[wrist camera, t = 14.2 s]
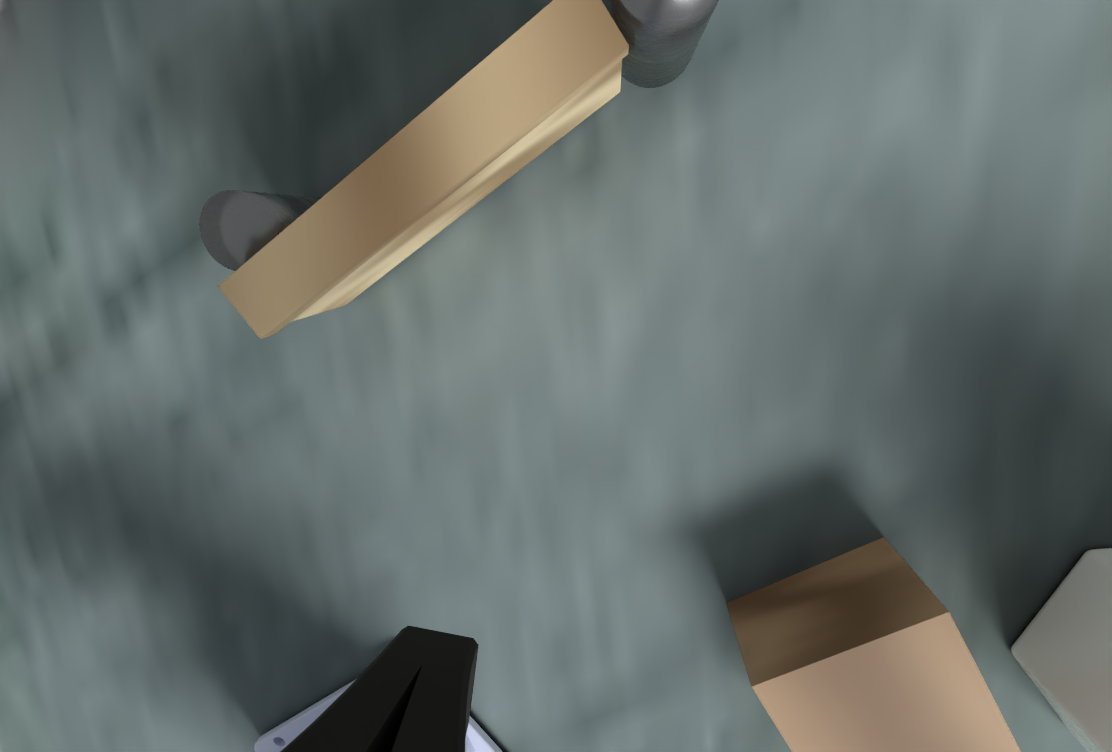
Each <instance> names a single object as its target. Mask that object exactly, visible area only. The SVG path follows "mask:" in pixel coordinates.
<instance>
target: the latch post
mask: <svg viewBox="0 0 1112 752" xmlns="http://www.w3.org/2000/svg"><path fill="white" fill-rule="evenodd" d="M320 199H321V198H313V197H302V196H291V195H280V194H268V193H257V192H246V191H235V190H227V191H222V192H219V193H217V194H215V195H214V196H212V197H211V198H210V199H209V200H208V201H207V202H206V204H205V206H204V207H203V210H202V212H201V216H200V232H201V237H202V240H203V242H204V245H205V247H206V248H207V250H208V252H209V253H210V254H211V256H212V257H213V258H214V259H215V260H216V261H217V262H219V263H220V264H221V265H223V266H224V267H226V268H228V269H231V270H234V271H236V270H238V269H239V268H240V267H241V266H242V265H243V264H245V263H246V262H247V261H248V260H249V259H250V258H252V257H253V256H254V255H255V254H256V253H257V252H259V251H260V250H261V249H262V248H263V247H264V246H266V245H267V244H268V243H269V242H270V241H272V240H273V239H274V238H275V237H276V236H277V235H279V234H280V233H281V232H282V231H283V230H284V229H286V228H287V227H288V226H289V225H290V224H291V223H293V222H294V221H295V220H296V219H297V218H298V217H300V216H301V215H302V214H303V213H304V212H306V211H307V210H308V209H309V208H310V207H311V206H313V205H314V204H315V203H316V202H317V201H318V200H320Z"/></svg>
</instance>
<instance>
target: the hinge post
mask: <svg viewBox="0 0 1112 752" xmlns="http://www.w3.org/2000/svg"><path fill="white" fill-rule="evenodd" d="M717 2H718V0H610V15H611V17H612V19H613V20H614V22H615V23H616V25H617V27H618V28H619V30H620V32H621V33H622V35H623V37H624V38H625V40H626V42H627V43H628V45H629V50H628V55H627V56H625V57H624V58H623V59H622V70H621V75H622V76H623V77H624V78H625V79H626V80H628V81H629V82H631V83H633V84H634V85H637V86H640V87H645V88H654V87H659V86H663V85H665V84H667V83H669V82H671V81H673V80H674V79H675V78H677V77H678V76H679V75H680V74H681V73H682V72H683V71H684V69H685V68H686V66H687V65H688V63H689V61H690V59H691V57H692V55H693V53H694V51H695V49H696V47H697V44H698V42H699V40H700V38H701V36H702V34H703V32H704V30H705V28H706V26H707V23H708V21H709V19H710V17H711V15H712V13H713V11H714V9H715V7H716V4H717Z"/></svg>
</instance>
